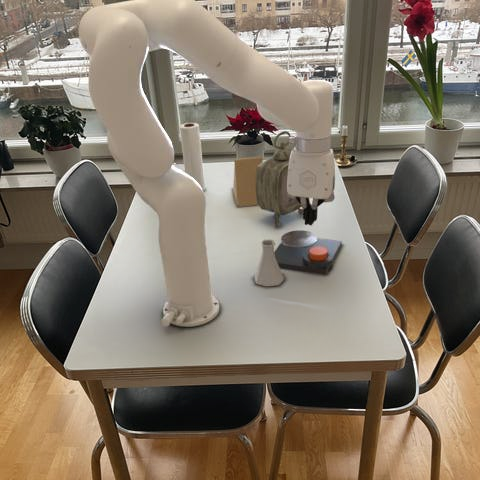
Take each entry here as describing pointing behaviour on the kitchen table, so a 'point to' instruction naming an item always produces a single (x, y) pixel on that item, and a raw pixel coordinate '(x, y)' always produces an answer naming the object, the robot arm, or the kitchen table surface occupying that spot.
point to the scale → (307, 257)
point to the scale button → (318, 253)
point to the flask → (268, 266)
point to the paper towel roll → (192, 152)
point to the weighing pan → (299, 239)
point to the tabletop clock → (275, 183)
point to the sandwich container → (245, 181)
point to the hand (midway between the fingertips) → (309, 222)
